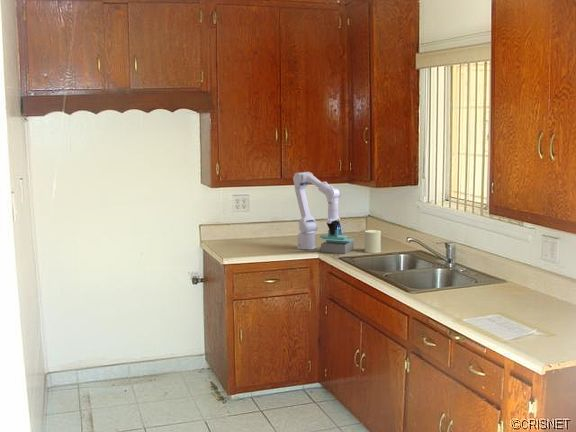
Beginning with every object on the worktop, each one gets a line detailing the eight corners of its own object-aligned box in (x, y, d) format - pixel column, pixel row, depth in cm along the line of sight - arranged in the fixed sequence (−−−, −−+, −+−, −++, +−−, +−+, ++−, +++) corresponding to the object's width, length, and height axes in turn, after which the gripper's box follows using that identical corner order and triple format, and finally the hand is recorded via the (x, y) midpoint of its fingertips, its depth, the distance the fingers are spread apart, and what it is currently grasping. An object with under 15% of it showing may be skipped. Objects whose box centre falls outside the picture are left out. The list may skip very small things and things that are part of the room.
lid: (319, 239, 385) (319, 230, 385) (324, 236, 392) (324, 228, 392) (343, 240, 380) (343, 231, 379) (348, 238, 387) (348, 229, 386)
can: (379, 253, 384) (379, 232, 382) (362, 252, 387) (362, 231, 385) (382, 250, 393) (382, 229, 391) (366, 249, 396) (366, 228, 394)
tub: (321, 252, 388) (321, 242, 387) (330, 247, 403) (330, 237, 402) (345, 254, 383) (345, 243, 382) (353, 249, 397) (353, 239, 396)
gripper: (335, 212, 374) (335, 237, 376) (344, 208, 388) (344, 232, 390) (323, 211, 377) (323, 236, 379) (332, 208, 390) (332, 232, 392)
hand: (333, 234), depth 384 cm, fingers closed on lid
